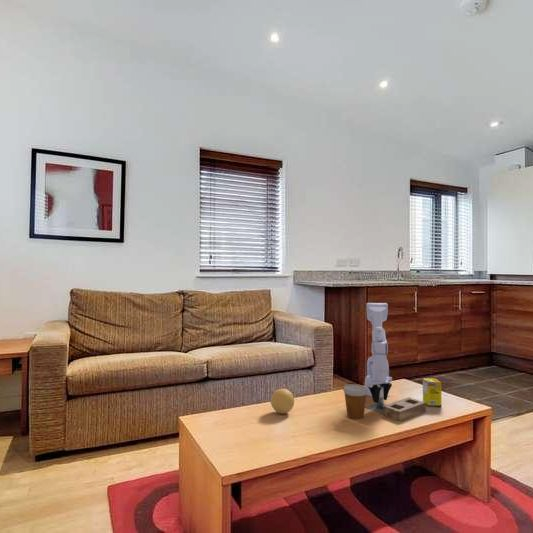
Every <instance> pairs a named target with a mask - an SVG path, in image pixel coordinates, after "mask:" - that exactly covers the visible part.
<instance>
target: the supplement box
mask: <svg viewBox="0 0 533 533" xmlns="http://www.w3.org/2000/svg"><path fill="white" fill-rule="evenodd" d="M422 401H423V402H426V407H431V408H434V407H435V408H442V382H441V381H439V379H437V378H422Z"/></svg>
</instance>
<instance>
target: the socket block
mask: <svg viewBox="0 0 533 533" xmlns="http://www.w3.org/2000/svg"><path fill="white" fill-rule="evenodd" d="M425 412H427V405H426V402H423V400H420V399H416V398H413V397H405V398H402V399H399V400H397V401H393V402H391V403H389V404H385V406H383V414H382V416H384V417H387V418H390V419H392V420H395V421H398V422H403V421H404V420H407V419H411V418H413V417H415V416H418V415H420V414H422V413H425Z"/></svg>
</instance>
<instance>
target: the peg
mask: <svg viewBox="0 0 533 533" xmlns="http://www.w3.org/2000/svg"><path fill="white" fill-rule="evenodd" d="M378 387H380V388H381V390H380V394H379V402H378V403H375V404H376V405H377V408H378V409H383V406H384V404H385V403H384V401H385V400H384V387H383V386H378Z"/></svg>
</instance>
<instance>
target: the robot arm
mask: <svg viewBox="0 0 533 533" xmlns="http://www.w3.org/2000/svg"><path fill="white" fill-rule="evenodd" d="M388 308H389V304H388V303H387V302H367V303H366V319H367V321H369V322H370V324H371V326H372V331H371V337H372V338H371V339H372V340H371V341H372V342H371V354H372V355H371V356H370V357H369V358H368V359H367V362H366V366H367V368H366V371H367V372H366V374H367V375H366V376H365V379H364V387H366V390H367V394H366V396H369V397H372V401H373V402H374V403H375V404H376V403H378V402H379V394H380V390H381V388H380V387H378V386H383V387H384V401H387V400H388V397H390V394H389V392H390V391H391V388H392V386H393V385H392V383H391V382H393V377H392V376H390V368H389V367H390V366H389V361H388V359H387V358H388V357H387V356H388V354H389V353H388V350H389V348H388V346H389V344H388V341H387V339H386V338H387V337H386V330H385V329H384V328H383V322H386V321H387V319H388V315H389V314H388V312H389V309H388Z"/></svg>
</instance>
